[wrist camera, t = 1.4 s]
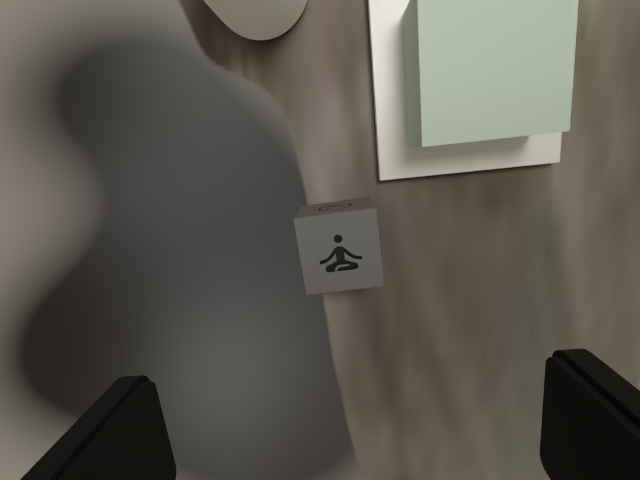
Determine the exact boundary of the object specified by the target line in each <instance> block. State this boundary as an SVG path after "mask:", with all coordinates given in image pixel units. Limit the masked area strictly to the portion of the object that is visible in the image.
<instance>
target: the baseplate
mask: <svg viewBox="0 0 640 480" xmlns="http://www.w3.org/2000/svg"><path fill="white" fill-rule="evenodd" d="M409 1H410V0H368V16H369V31H370V47H371V63H372V79H373V95H374V111H375V127H376V142H377V158H378V174H379V180H380V181H381V180H390V179H400V178H410V177H420V176H430V175H439V174H449V173H459V172H469V171H479V170H489V169H498V168H508V167H518V166H528V165H538V164H547V163H557V162H560V149H561V133H562V132H557V133H548V134H538V135H529V136H520V137H511V138H501V139H492V140H483V141H474V142H464V143H455V144H446V145H436V146H427V147H414V148H408V137H407V113H406V89H405V65H404V41H403V17H402V16H403V14H404V11H405V9H406V7H407V5H408V3H409Z"/></svg>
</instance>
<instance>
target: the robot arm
mask: <svg viewBox="0 0 640 480" xmlns="http://www.w3.org/2000/svg"><path fill="white" fill-rule="evenodd" d="M540 458H541V462H542V465H543V467H544V469H545V471H546V473H547V474H548V476H549V478H550V479H551V480H640V391H639V390H638V389H637V388H635V387H634V386H633V385H631V384H630V383H629V382H628V381H626V380H625V379H624V378H623V377H621V376H620V375H619V374H617V373H616V372H615V371H614V370H612V369H611V368H610V367H609V366H607V365H606V364H605V363H603V362H602V361H601V360H600V359H598V358H597V357H596V356H595V355H593V354H592V353H591V352H589V351H588V350H586V349H570V350H557V351H555V352H554V353H553V356H552V357H550V358H548V359H547V360H546V367H545V382H544V397H543V412H542V427H541V442H540ZM175 479H176V465H175V462H174V457H173V453H172V449H171V445H170V441H169V437H168V433H167V429H166V425H165V421H164V417H163V413H162V409H161V405H160V401H159V397H158V393H157V389H156V385H155V383H154V382H152V381H150V380H149V378H147V376H144V375H143V376H126V377H120V378H119V379H117V380H116V381H115V382H114V383H113V384H112V385H111V386H110V387H109V388H108V389H107V390H106V392H104V394H103V395H102V396H101V397H100V398H99V399H98V400H97V401H96V402H95V403H94V404H93V405H92V406H91V407H90V408H89V409H88V410H87V411H86V412H85V413H84V414H83V415H82V416H81V417H80V418H79V419H78V420H77V422H76V423H75V424H74V425H73V426H72V427H71V428H70V429H69V430H68V431H67V432H66V433H65V434H64V435H63V436H62V437H61V438H60V439H59V440H58V441H57V442H56V443H55V444H54V445H53V446H52V447H51V448H50V449H49V450H48V452H47V453H46V454H45V455H44V456H43V457H42V458H41V459H40V460H39V461H38V462H37V463H36V464H35V465H34V466H33V467H32V468H31V469H30V470H29V471H28V472H27V473H26V474H25V475H24V476H23V477H22V479H20V480H175Z"/></svg>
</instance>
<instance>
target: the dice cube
mask: <svg viewBox="0 0 640 480" xmlns="http://www.w3.org/2000/svg"><path fill="white" fill-rule="evenodd" d="M293 220H294V225H295V232H296V238H297V244H298V250H299V256H300V262H301V268H302V273H303V280H304V286H305V291H306V295H310V294H320V293H328V292H337V291H345V290H354V289H363V288H371V287H380V286H384V276H383V267H382V258H381V248H380V239H379V230H378V220H377V211H376V207H375V205H374V204H373V203H372V201H371V200H370V198H369V197H367V198H359V199H352V200H345V201H338V202H330V203H323V204H316V205H309V206H302V207H301V208H300V209H299V211H298V213H297V214H296V216H295V217H294V219H293Z"/></svg>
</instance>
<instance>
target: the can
mask: <svg viewBox="0 0 640 480" xmlns="http://www.w3.org/2000/svg"><path fill="white" fill-rule="evenodd" d="M204 1H205V3H206V4H207V5H208V6H209V7H210V8H211V9H212V10H213V12H214V13H215V14H216V15H217V16H218V17H219V18H220V19H221V20H222V22H223V23H224V24H225V25H226V26H227V27H229V28H230V29H231V30H232V31H234V32H235V33H237V34H238V35H240V36H242V37H245V38H248V39H252V40H268V39H272V38H275V37H278V36H280V35H282V34H283V33H285V32H286V31H288V30H289V29H290V28H291V27H292V26H293V25H294V24H295V23H296V22H297V20H298V19H299V17H300V16H301V14H302V12H303V11H304V8H305V6H306V3H307V0H204Z"/></svg>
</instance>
